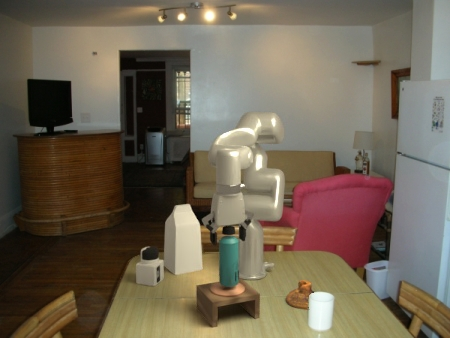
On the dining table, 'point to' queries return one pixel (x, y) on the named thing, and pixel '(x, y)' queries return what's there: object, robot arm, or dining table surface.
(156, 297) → the dining table surface
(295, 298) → the candle holder
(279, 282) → the dining table surface
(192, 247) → the milk
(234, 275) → the beverage bottle
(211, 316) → the wooden u-channel bracket
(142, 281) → the container
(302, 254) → the dining table surface
